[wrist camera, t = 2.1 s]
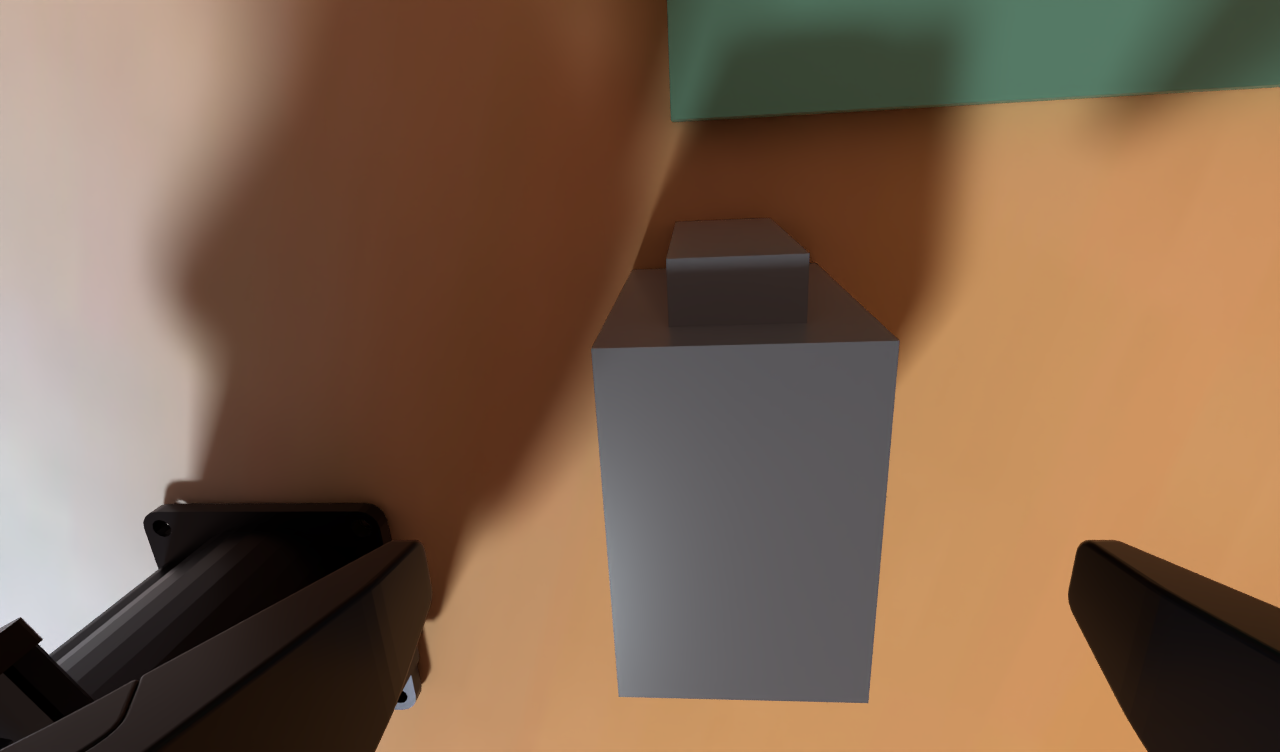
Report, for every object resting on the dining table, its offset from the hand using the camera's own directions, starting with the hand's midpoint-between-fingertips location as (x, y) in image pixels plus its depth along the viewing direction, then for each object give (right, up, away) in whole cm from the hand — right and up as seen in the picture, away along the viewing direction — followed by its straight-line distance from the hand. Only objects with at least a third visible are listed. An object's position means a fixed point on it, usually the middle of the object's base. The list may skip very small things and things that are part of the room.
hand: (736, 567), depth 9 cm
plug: (+1, +2, +6) cm, 7 cm away
